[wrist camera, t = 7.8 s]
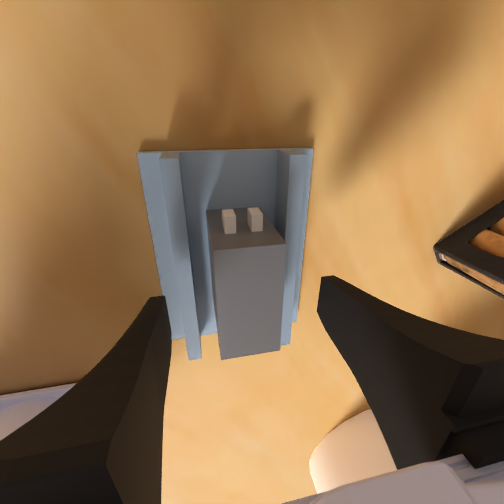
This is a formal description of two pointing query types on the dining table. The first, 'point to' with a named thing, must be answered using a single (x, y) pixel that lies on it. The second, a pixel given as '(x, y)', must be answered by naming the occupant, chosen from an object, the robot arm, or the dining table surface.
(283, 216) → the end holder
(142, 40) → the dining table surface
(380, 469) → the canister
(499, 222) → the ammunition clip
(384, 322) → the robot arm
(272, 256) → the charcoal plug
